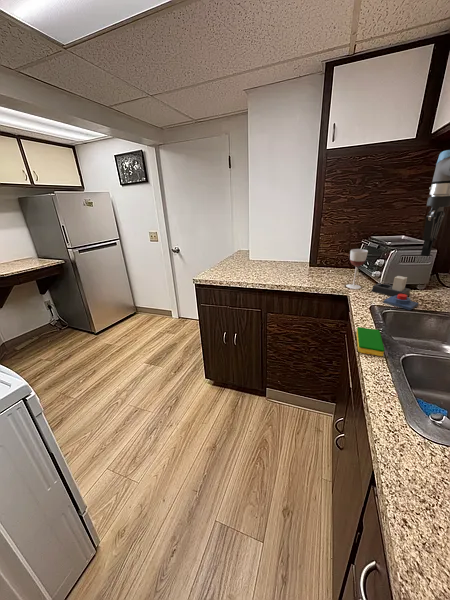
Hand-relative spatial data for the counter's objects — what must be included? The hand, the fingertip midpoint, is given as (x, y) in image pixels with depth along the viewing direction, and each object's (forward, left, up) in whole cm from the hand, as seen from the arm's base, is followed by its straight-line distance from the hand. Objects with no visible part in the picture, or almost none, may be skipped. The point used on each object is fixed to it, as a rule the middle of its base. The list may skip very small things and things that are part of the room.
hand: (425, 255), depth 105 cm
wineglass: (+29, -2, -22) cm, 37 cm away
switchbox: (+3, +5, -22) cm, 23 cm away
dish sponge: (-4, +48, -22) cm, 53 cm away
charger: (+9, -6, -22) cm, 25 cm away
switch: (+3, +5, -20) cm, 20 cm away
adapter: (+12, -6, -22) cm, 26 cm away
